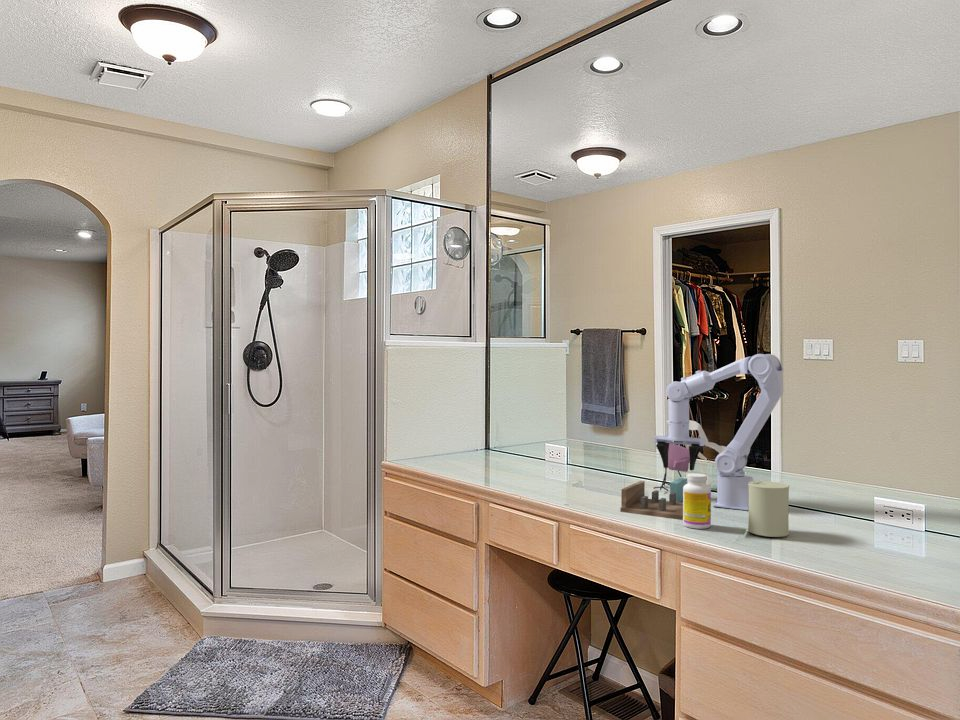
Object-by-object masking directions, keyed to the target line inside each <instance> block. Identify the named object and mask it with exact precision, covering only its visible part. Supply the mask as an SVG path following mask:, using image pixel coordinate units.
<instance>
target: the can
mask: <svg viewBox="0 0 960 720" xmlns="http://www.w3.org/2000/svg"><path fill="white" fill-rule="evenodd" d="M748 485H749V510H748V524H747V525H748V528H747V531H748V532H749V533H751V534H754V535H756V536H762V537H771V538H780V537H781V538H783V537H787V536H789V535H790V529H789V528H790V527H789V502H790V501H789V498H790V497H789V493H790V485H789V484H787V483H783V482H779V481H767V480H755V481H754V480H753V482H749V483H748Z"/></svg>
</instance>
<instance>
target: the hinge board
mask: <svg viewBox="0 0 960 720" xmlns="http://www.w3.org/2000/svg"><path fill="white" fill-rule="evenodd" d="M645 483H646V482H645V481H643V480H639V481H637V482H635V483H633V484H630V485H628V486H626V487H623V488H622V489H621V501H620V503H621V507H620V509H619V510H620V512H622V513H630V514H631V513H632V514H636V515H637V514H638V515H645V516H651V517H661V518H667V519H677V520H682V521H683V502H681V501H680V502H676V493H674V492H672V493H671V494H670V493H669V497H668V498H669V499H668V500H667V498H666V497H661V498H660V497H659V496H660V494H659V492H660V490H654V491H652V492H651V498H649V496H648V495H645V490H646V488H645V485H646V484H645Z"/></svg>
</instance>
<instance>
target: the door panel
mask: <svg viewBox="0 0 960 720" xmlns="http://www.w3.org/2000/svg"><path fill="white" fill-rule="evenodd" d="M669 484H670V485H669V494H671V493H672V492H674V493H676V502H681V501H683V487H684V485H686V484H688V479H687V477H682V478H680V477H679V478H677V479H674V480H673V481H671V482H669Z"/></svg>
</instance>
